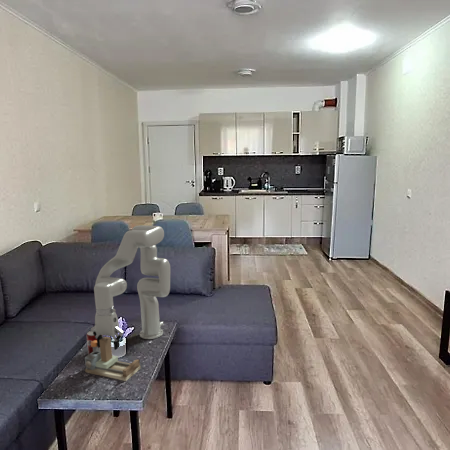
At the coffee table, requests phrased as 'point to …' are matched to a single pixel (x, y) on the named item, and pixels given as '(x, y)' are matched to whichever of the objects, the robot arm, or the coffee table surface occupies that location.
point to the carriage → (106, 354)
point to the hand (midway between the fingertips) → (108, 346)
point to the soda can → (89, 339)
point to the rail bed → (111, 367)
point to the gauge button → (94, 345)
